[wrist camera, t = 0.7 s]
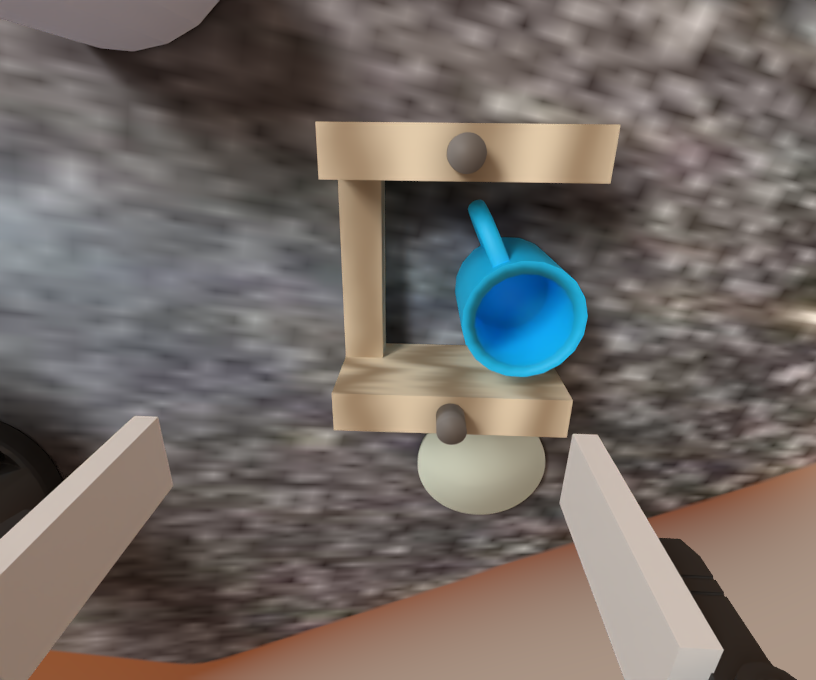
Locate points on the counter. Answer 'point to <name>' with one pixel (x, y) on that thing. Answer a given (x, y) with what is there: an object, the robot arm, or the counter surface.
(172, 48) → the counter surface
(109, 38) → the soap bottle
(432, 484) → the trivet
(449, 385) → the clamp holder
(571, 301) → the mug
